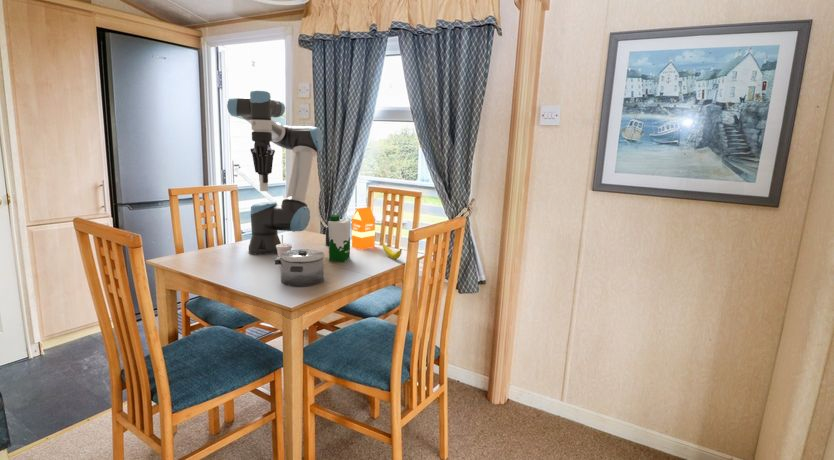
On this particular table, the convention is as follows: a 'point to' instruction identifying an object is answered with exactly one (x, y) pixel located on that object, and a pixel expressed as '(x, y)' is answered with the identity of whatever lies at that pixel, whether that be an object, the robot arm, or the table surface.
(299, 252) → the lid
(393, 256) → the banana
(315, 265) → the cooker
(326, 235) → the supplement bottle
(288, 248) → the smoothie
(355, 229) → the orange juice
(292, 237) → the table surface
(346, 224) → the milk carton
